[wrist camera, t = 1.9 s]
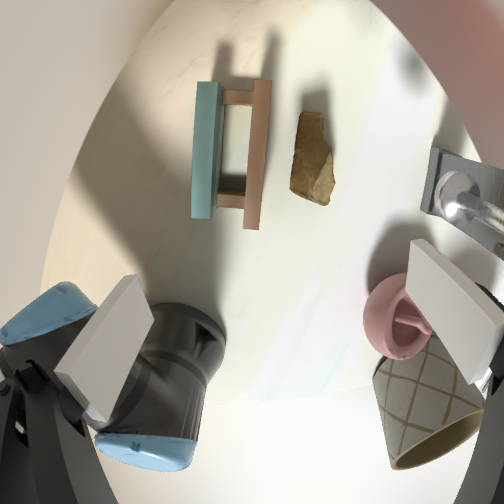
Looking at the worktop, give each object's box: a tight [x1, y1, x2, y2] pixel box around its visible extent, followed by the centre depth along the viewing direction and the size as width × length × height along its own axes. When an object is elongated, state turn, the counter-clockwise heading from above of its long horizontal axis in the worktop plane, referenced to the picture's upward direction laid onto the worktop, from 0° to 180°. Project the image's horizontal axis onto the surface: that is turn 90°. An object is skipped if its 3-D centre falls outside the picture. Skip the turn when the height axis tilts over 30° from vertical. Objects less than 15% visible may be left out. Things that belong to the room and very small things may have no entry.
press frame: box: [420, 147, 504, 261], centre depth 20 cm, size 12×9×24 cm
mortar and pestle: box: [363, 273, 434, 360], centre depth 33 cm, size 12×12×12 cm
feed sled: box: [191, 79, 272, 230], centre depth 27 cm, size 7×14×8 cm, turn 176°
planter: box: [373, 337, 486, 470], centre depth 36 cm, size 19×19×20 cm
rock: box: [290, 112, 335, 206], centre depth 28 cm, size 11×9×10 cm
